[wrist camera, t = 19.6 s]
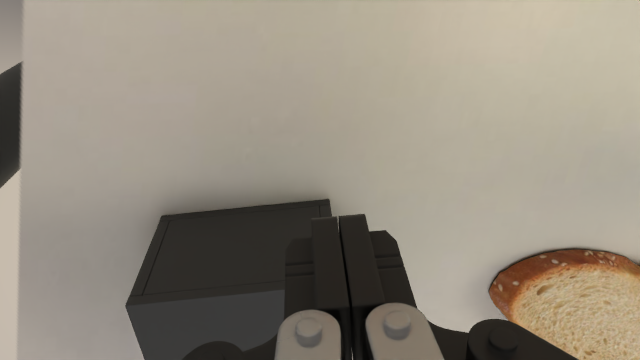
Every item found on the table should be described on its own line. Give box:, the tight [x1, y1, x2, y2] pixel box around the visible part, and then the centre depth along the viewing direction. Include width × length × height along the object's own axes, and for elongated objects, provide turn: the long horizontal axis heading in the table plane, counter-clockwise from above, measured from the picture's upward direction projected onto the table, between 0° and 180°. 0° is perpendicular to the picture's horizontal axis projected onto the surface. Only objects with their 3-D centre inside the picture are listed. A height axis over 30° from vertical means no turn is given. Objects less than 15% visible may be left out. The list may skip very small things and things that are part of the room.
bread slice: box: [489, 249, 640, 360], centre depth 43 cm, size 18×18×4 cm
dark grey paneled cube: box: [125, 199, 332, 360], centre depth 37 cm, size 15×13×10 cm
